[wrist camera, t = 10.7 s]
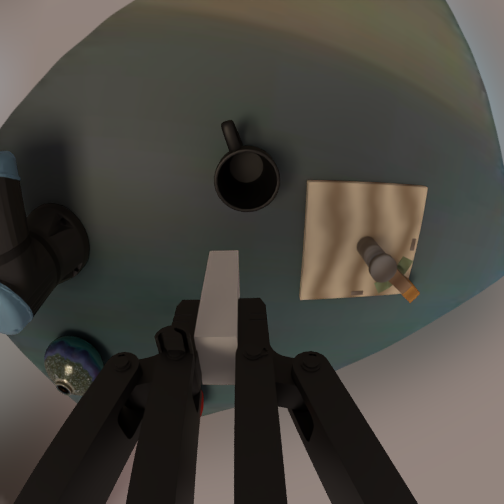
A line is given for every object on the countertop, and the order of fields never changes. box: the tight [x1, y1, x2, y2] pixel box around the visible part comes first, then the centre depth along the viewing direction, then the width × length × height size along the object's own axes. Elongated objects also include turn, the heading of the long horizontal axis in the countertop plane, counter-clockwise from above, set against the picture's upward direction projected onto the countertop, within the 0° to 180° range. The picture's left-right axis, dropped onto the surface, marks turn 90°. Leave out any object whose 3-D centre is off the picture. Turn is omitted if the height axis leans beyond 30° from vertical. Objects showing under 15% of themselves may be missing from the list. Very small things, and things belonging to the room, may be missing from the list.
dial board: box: [299, 180, 428, 300], centre depth 52 cm, size 22×22×1 cm
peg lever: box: [357, 236, 420, 303], centre depth 49 cm, size 15×4×8 cm, turn 51°
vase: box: [44, 336, 104, 395], centre depth 57 cm, size 15×15×13 cm
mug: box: [214, 120, 280, 212], centre depth 41 cm, size 8×12×10 cm
